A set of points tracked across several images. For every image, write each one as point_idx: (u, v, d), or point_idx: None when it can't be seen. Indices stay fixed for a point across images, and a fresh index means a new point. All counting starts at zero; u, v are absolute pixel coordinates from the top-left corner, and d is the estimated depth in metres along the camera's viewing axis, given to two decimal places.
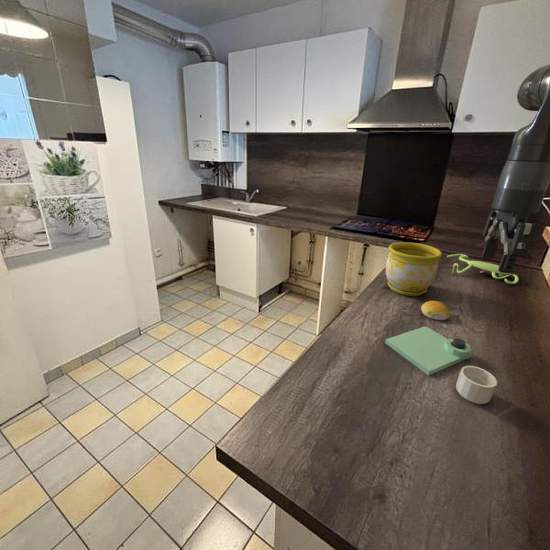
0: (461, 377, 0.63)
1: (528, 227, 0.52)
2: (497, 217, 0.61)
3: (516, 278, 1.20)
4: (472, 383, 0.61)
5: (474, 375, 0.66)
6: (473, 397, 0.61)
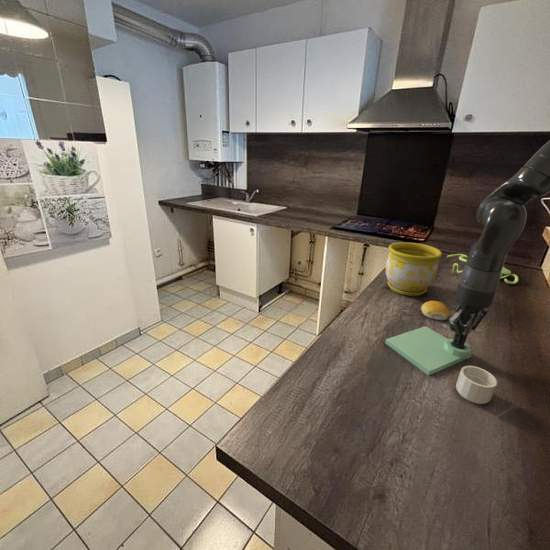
0: (461, 377, 0.63)
1: (451, 322, 0.70)
2: None
3: (516, 278, 1.20)
4: (472, 383, 0.61)
5: (474, 375, 0.66)
6: (473, 397, 0.61)
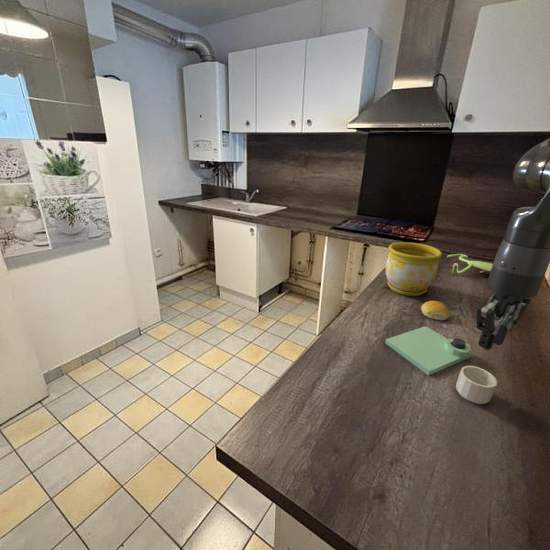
0: (461, 377, 0.63)
1: (483, 313, 0.53)
2: None
3: None
4: (472, 383, 0.61)
5: (474, 375, 0.66)
6: (473, 397, 0.61)
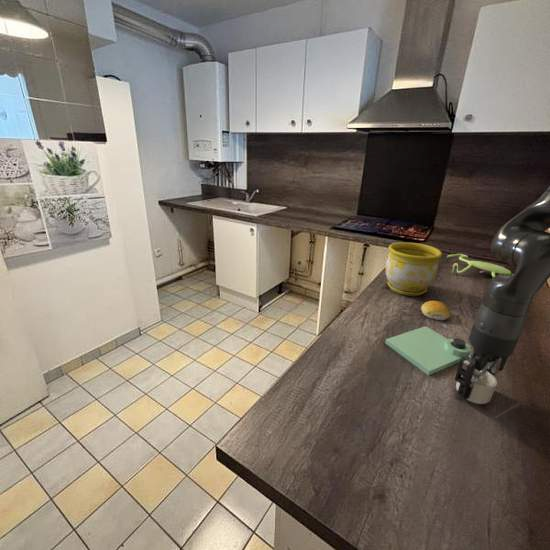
0: None
1: (465, 364, 0.58)
2: None
3: None
4: None
5: None
6: (473, 397, 0.61)
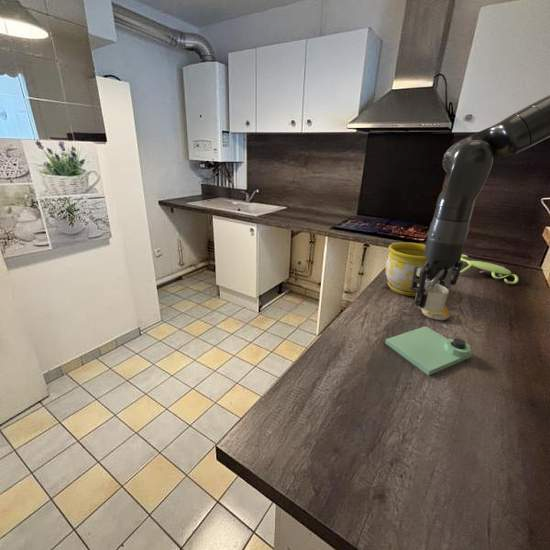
0: None
1: (418, 271, 0.65)
2: None
3: (516, 278, 1.20)
4: None
5: (431, 291, 0.73)
6: (428, 305, 0.69)
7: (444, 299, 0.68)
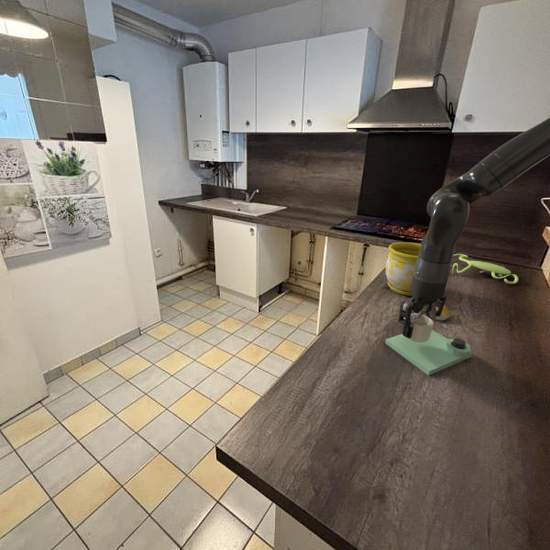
0: None
1: (404, 306, 0.70)
2: None
3: (516, 278, 1.20)
4: None
5: (418, 321, 0.78)
6: (414, 336, 0.74)
7: (429, 331, 0.73)
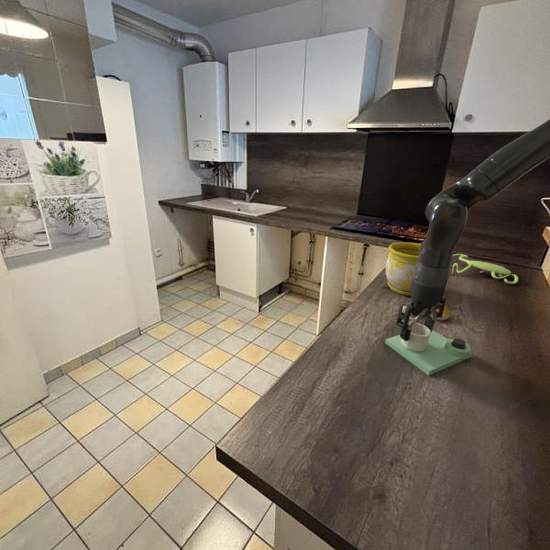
0: None
1: (404, 308, 0.71)
2: None
3: (516, 278, 1.20)
4: (410, 334, 0.75)
5: (416, 330, 0.80)
6: (412, 345, 0.75)
7: (426, 340, 0.74)
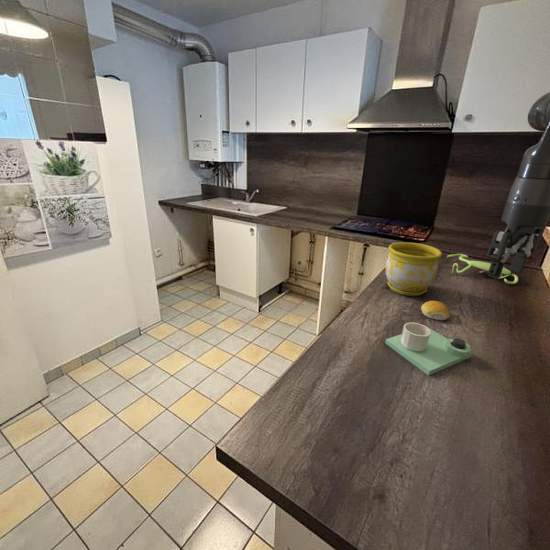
0: (403, 330, 0.77)
1: (500, 235, 0.59)
2: None
3: (516, 278, 1.20)
4: (410, 334, 0.75)
5: (416, 330, 0.80)
6: (412, 345, 0.75)
7: (426, 340, 0.74)
